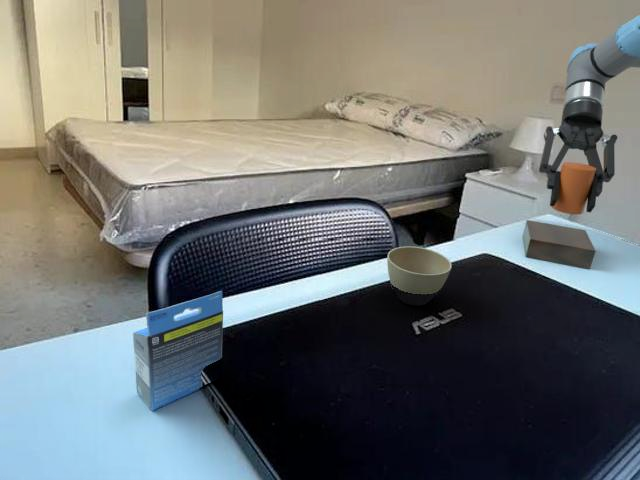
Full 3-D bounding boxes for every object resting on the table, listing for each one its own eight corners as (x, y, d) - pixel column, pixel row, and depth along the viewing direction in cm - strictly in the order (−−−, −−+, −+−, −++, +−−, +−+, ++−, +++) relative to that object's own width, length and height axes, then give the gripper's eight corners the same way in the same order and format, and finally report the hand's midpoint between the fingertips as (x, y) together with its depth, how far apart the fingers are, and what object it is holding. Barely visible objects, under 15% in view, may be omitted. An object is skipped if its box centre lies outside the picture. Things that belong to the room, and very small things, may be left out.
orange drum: (580, 207, 103) (593, 165, 99) (585, 216, 98) (599, 171, 94) (549, 202, 104) (561, 160, 101) (552, 211, 99) (564, 167, 96)
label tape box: (205, 364, 61) (204, 275, 57) (223, 381, 59) (224, 290, 54) (136, 393, 56) (128, 298, 51) (152, 414, 53) (146, 315, 48)
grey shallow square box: (580, 247, 109) (585, 230, 107) (589, 269, 98) (595, 250, 96) (522, 236, 112) (526, 219, 110) (525, 256, 101) (530, 238, 99)
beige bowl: (369, 296, 81) (374, 256, 78) (404, 278, 87) (410, 241, 85) (421, 323, 74) (430, 280, 72) (454, 301, 81) (463, 262, 79)
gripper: (625, 127, 106) (618, 223, 98) (530, 115, 111) (516, 206, 103) (640, 104, 99) (633, 205, 91) (538, 93, 104) (524, 188, 96)
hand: (572, 205), depth 97 cm, fingers closed on orange drum, 6 cm apart
